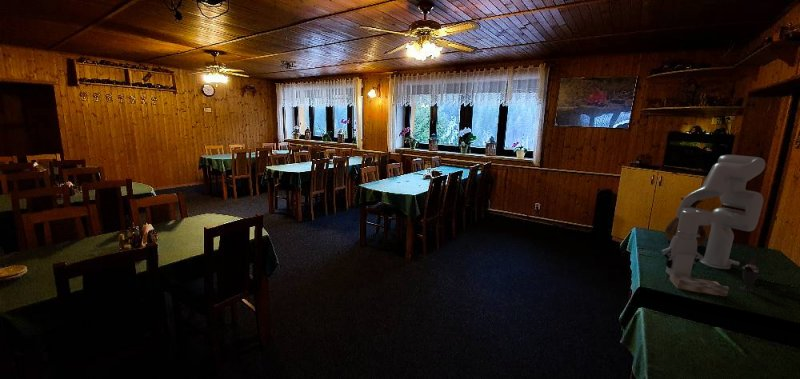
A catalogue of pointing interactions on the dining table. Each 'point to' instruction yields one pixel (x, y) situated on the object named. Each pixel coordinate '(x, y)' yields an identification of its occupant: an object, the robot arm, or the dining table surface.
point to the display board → (699, 285)
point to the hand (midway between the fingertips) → (678, 268)
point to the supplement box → (681, 265)
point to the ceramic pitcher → (673, 226)
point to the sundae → (749, 275)
